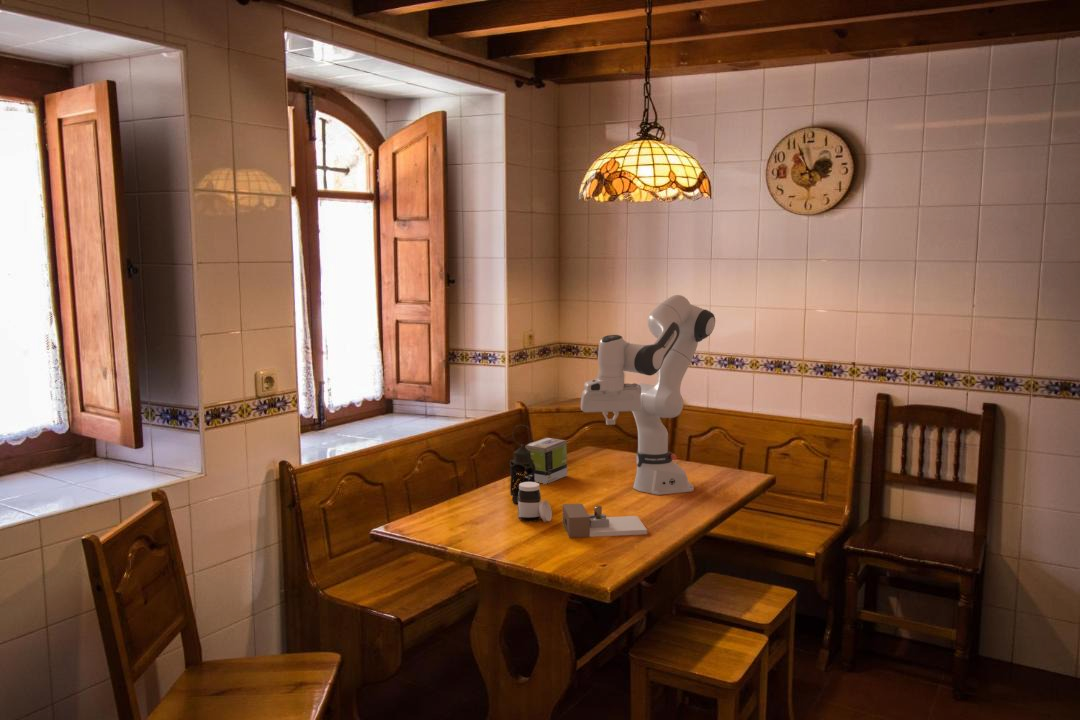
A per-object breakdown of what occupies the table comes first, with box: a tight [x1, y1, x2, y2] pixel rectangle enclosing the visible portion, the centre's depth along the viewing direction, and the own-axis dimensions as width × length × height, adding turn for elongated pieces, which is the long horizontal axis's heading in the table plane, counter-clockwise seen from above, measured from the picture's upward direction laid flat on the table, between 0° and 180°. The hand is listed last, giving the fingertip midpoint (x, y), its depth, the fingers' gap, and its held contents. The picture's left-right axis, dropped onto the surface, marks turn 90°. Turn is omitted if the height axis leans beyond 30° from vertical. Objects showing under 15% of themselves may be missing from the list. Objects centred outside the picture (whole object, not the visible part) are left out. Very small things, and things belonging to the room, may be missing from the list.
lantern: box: [509, 424, 536, 504], centre depth 308 cm, size 10×9×28 cm
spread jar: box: [517, 482, 553, 523], centre depth 290 cm, size 12×11×12 cm
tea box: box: [524, 437, 568, 485], centre depth 338 cm, size 15×10×15 cm
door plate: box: [562, 503, 648, 539], centre depth 280 cm, size 25×14×6 cm, turn 97°
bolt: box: [590, 505, 604, 519], centre depth 279 cm, size 10×2×6 cm, turn 97°
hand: (610, 424), depth 291 cm, fingers closed
